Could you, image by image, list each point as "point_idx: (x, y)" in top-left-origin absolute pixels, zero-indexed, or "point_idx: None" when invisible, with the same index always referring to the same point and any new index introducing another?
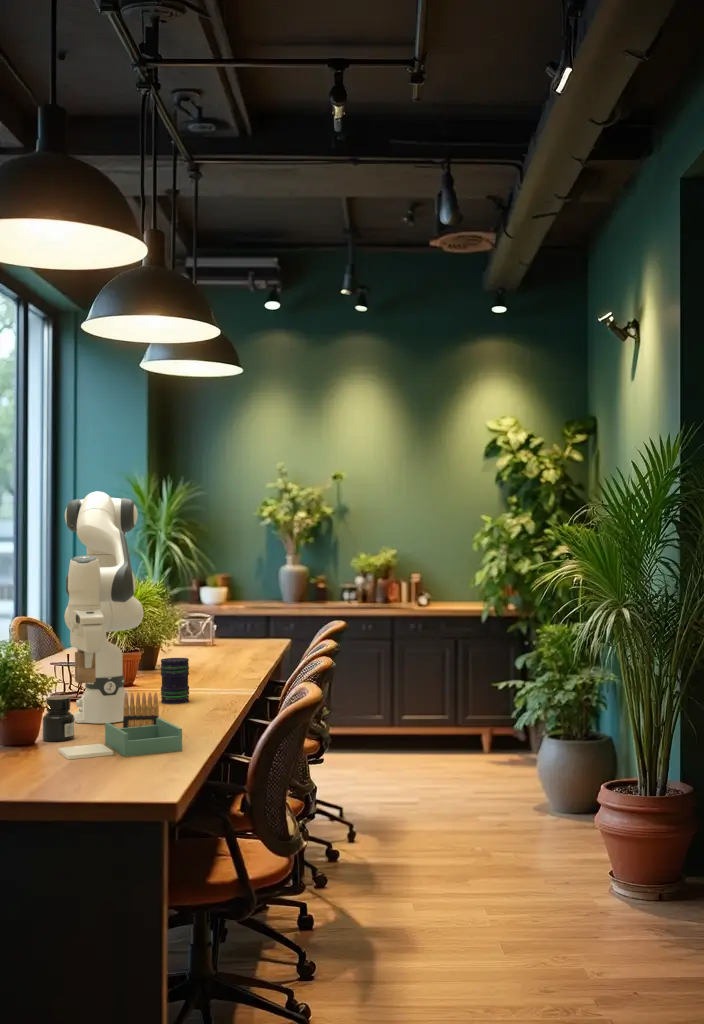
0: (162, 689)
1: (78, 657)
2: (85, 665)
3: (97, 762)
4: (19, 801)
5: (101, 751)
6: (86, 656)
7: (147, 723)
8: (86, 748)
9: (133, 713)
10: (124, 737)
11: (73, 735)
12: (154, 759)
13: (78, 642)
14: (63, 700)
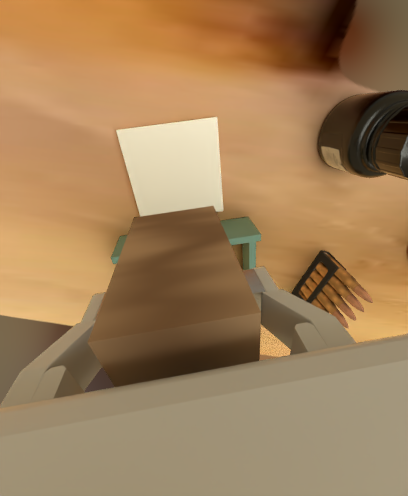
0: None
1: (109, 309)
2: (90, 303)
3: (77, 186)
4: None
5: (145, 202)
6: (33, 368)
7: (309, 290)
8: (186, 178)
9: (331, 284)
10: (112, 254)
11: (331, 166)
12: (88, 274)
13: (169, 489)
14: (397, 157)
